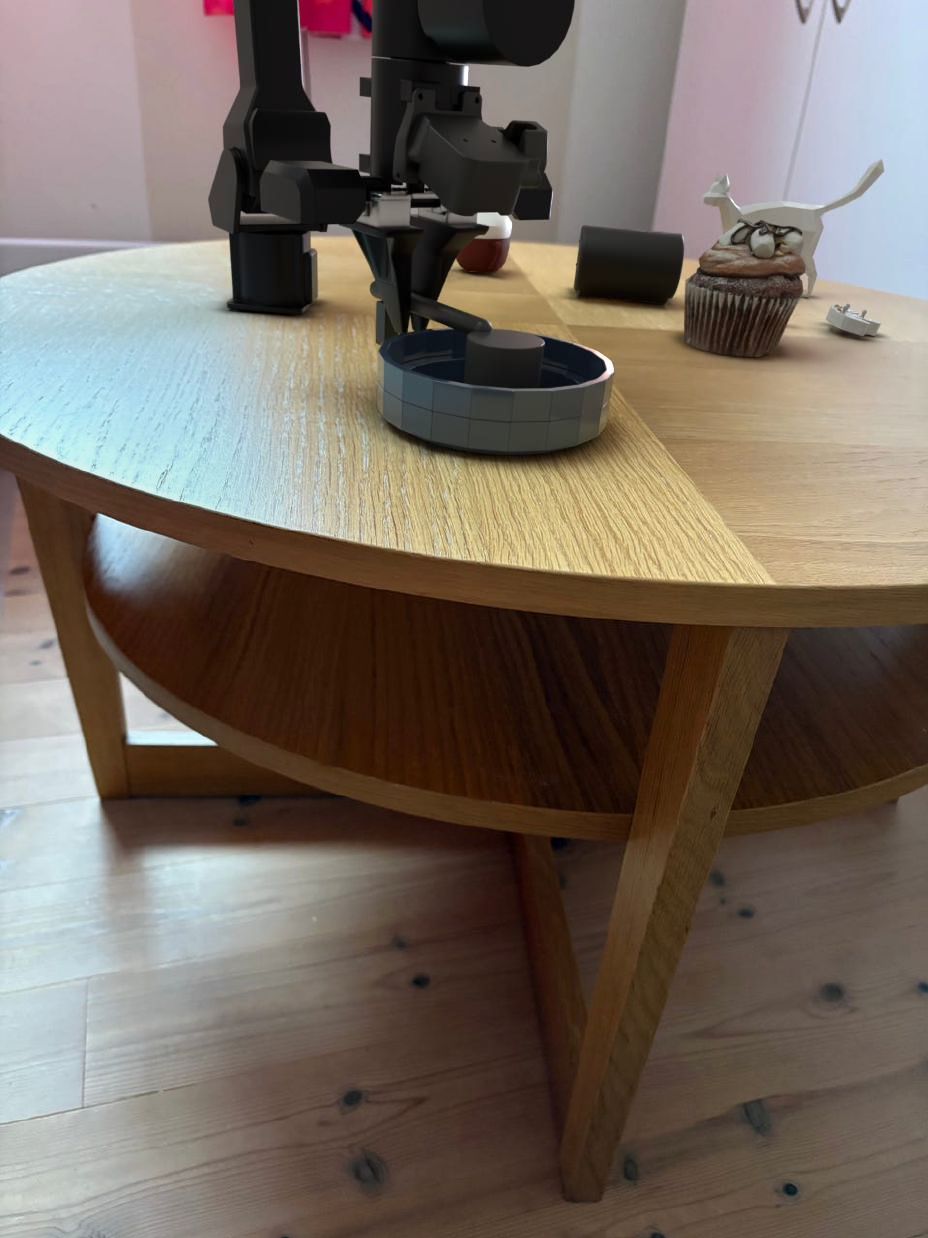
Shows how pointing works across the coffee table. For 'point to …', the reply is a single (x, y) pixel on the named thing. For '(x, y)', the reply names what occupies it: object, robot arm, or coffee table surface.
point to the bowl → (491, 396)
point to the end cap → (628, 264)
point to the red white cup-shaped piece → (487, 245)
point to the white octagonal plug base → (851, 320)
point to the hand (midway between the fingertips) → (409, 332)
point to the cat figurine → (787, 213)
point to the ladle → (477, 344)
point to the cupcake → (745, 290)
